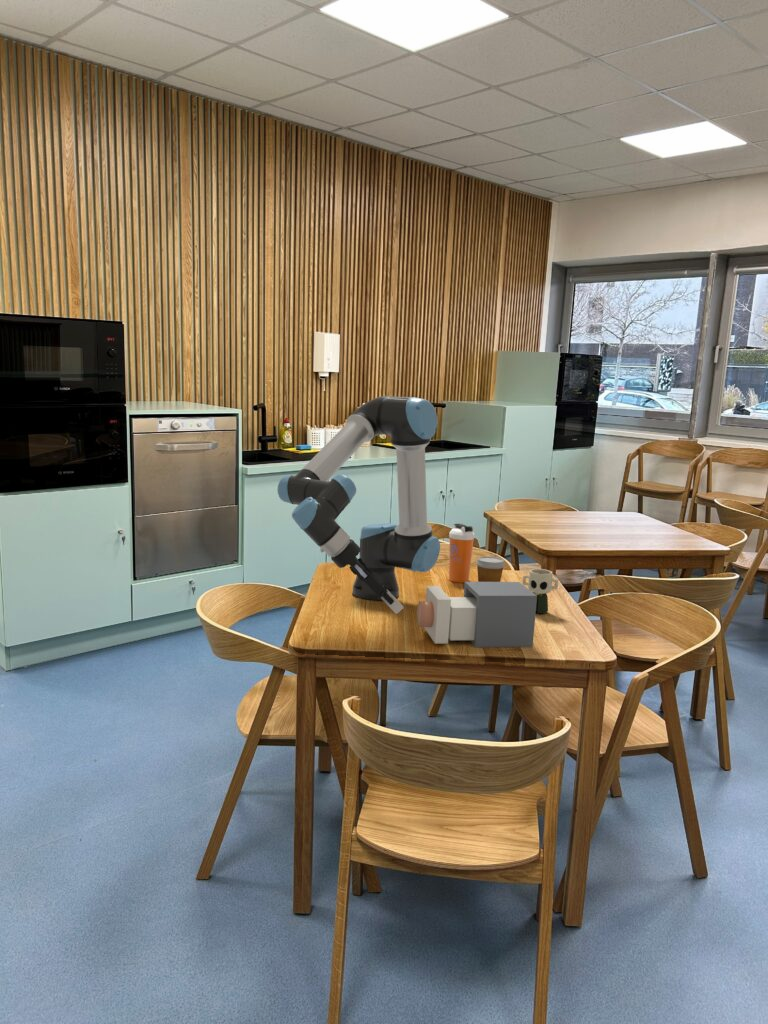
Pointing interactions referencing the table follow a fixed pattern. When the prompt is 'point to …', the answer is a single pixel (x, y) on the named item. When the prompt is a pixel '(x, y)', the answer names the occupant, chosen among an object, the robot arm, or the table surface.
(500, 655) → the table surface
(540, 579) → the character mug
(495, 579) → the disposable coffee cup
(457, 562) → the shaker bottle
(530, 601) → the block
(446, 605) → the white drawer
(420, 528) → the robot arm
